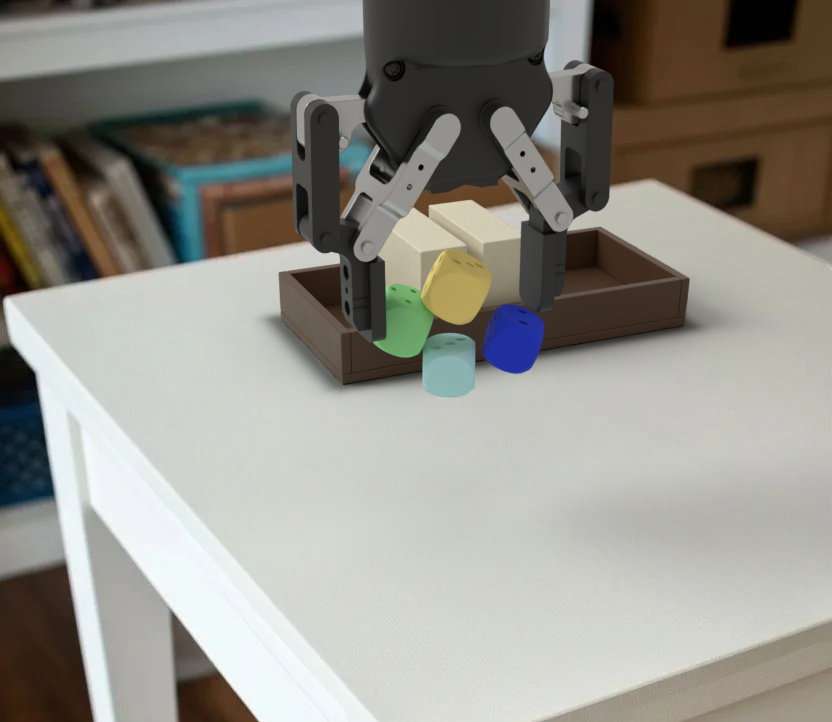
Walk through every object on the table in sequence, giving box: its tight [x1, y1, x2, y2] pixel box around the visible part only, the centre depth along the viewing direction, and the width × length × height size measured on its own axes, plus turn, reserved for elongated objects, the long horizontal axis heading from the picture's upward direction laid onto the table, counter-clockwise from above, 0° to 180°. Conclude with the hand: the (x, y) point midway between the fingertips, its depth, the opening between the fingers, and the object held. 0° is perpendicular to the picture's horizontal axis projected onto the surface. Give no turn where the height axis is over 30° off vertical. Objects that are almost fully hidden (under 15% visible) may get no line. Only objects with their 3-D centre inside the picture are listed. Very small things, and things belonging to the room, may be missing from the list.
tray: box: [278, 226, 691, 385], centre depth 87 cm, size 23×11×3 cm, turn 113°
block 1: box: [378, 207, 467, 292], centre depth 85 cm, size 3×8×6 cm, turn 23°
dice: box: [373, 249, 544, 399], centre depth 63 cm, size 8×3×6 cm, turn 88°
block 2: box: [428, 199, 522, 308], centre depth 86 cm, size 3×8×6 cm, turn 23°
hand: (454, 320), depth 63 cm, fingers closed on dice, 8 cm apart
